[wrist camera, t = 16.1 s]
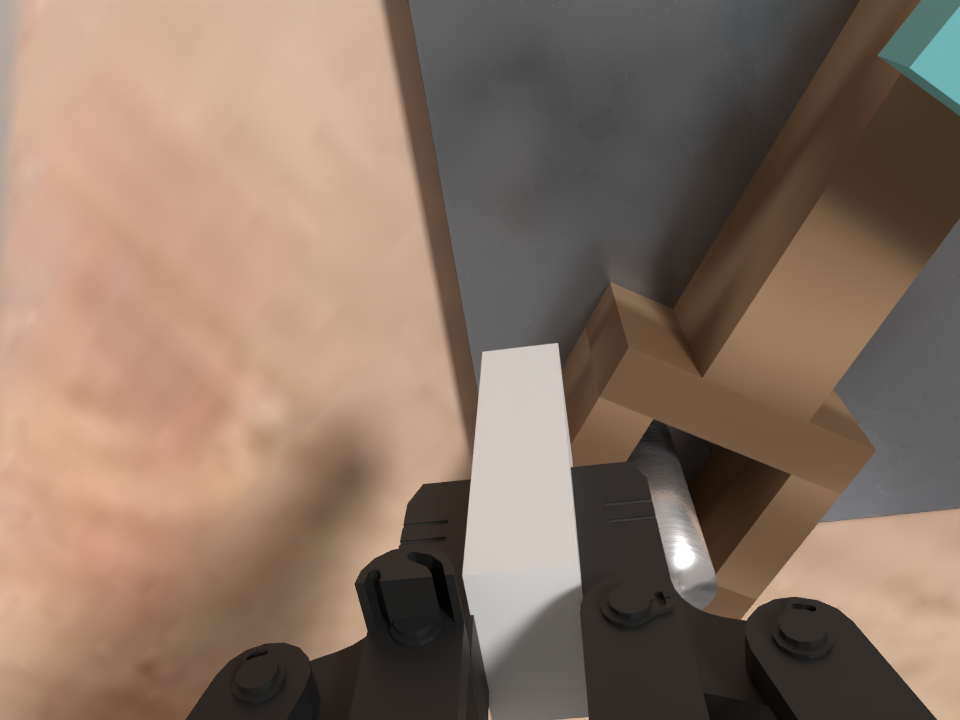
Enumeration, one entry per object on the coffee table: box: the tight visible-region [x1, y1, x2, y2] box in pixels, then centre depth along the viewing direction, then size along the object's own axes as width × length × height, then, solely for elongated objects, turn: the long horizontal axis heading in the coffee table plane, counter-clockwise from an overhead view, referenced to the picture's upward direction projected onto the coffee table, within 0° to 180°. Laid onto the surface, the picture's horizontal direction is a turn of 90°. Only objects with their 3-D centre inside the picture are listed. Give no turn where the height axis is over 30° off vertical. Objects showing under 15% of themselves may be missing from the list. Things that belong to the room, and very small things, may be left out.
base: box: [408, 0, 960, 610], centre depth 20 cm, size 19×19×8 cm
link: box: [561, 0, 960, 620], centre depth 21 cm, size 18×7×4 cm, turn 156°
